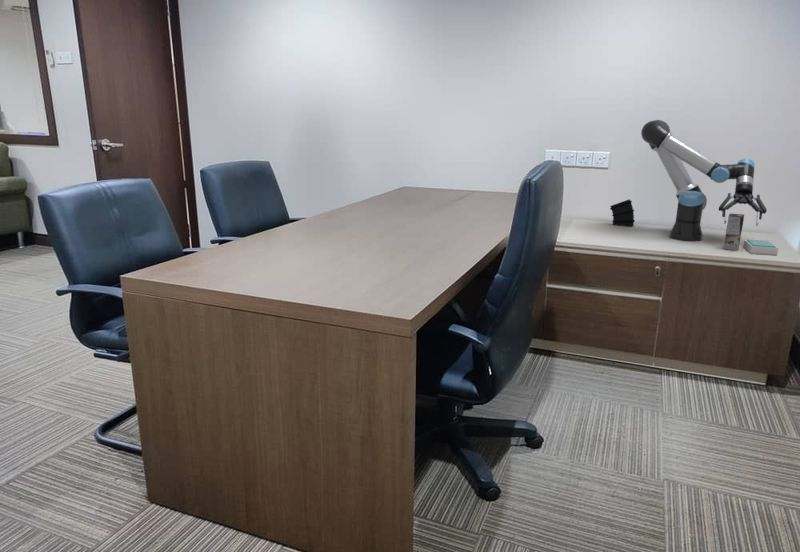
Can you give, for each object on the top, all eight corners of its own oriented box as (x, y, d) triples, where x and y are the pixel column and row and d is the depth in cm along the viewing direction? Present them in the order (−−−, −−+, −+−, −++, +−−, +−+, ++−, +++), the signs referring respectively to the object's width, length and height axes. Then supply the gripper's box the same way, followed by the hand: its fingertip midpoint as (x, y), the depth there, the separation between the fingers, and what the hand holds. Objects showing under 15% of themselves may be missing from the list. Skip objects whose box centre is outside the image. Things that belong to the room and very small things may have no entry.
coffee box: (738, 250, 281) (744, 217, 277) (723, 249, 284) (728, 215, 280) (738, 246, 289) (744, 214, 284) (724, 245, 292) (729, 213, 287)
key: (753, 249, 276) (753, 244, 275) (746, 243, 287) (747, 239, 286) (774, 250, 273) (775, 246, 273) (767, 244, 284) (768, 240, 284)
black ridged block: (638, 224, 331) (629, 199, 331) (615, 232, 339) (606, 207, 339) (639, 223, 334) (630, 198, 334) (617, 231, 342) (608, 206, 342)
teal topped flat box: (750, 253, 276) (752, 246, 275) (743, 247, 288) (744, 240, 287) (776, 255, 273) (778, 248, 272) (768, 248, 286) (769, 241, 285)
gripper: (771, 193, 292) (769, 229, 284) (714, 190, 302) (711, 225, 294) (775, 184, 286) (772, 221, 278) (716, 181, 296) (713, 217, 288)
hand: (741, 223), depth 286 cm, fingers open, 13 cm apart
